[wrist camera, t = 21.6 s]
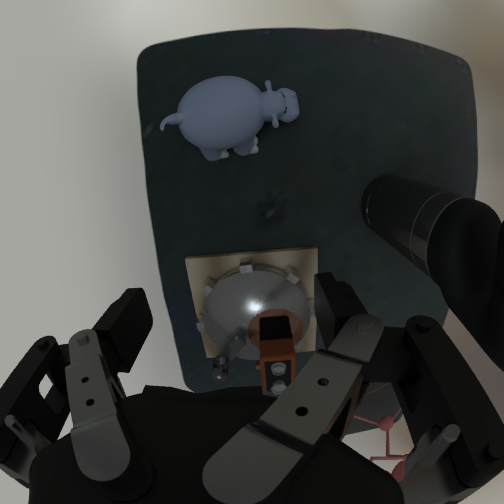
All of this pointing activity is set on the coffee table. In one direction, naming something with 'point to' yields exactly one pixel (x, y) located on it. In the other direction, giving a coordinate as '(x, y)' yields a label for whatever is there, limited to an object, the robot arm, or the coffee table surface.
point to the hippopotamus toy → (230, 114)
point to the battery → (276, 353)
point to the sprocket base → (296, 258)
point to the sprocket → (250, 311)
